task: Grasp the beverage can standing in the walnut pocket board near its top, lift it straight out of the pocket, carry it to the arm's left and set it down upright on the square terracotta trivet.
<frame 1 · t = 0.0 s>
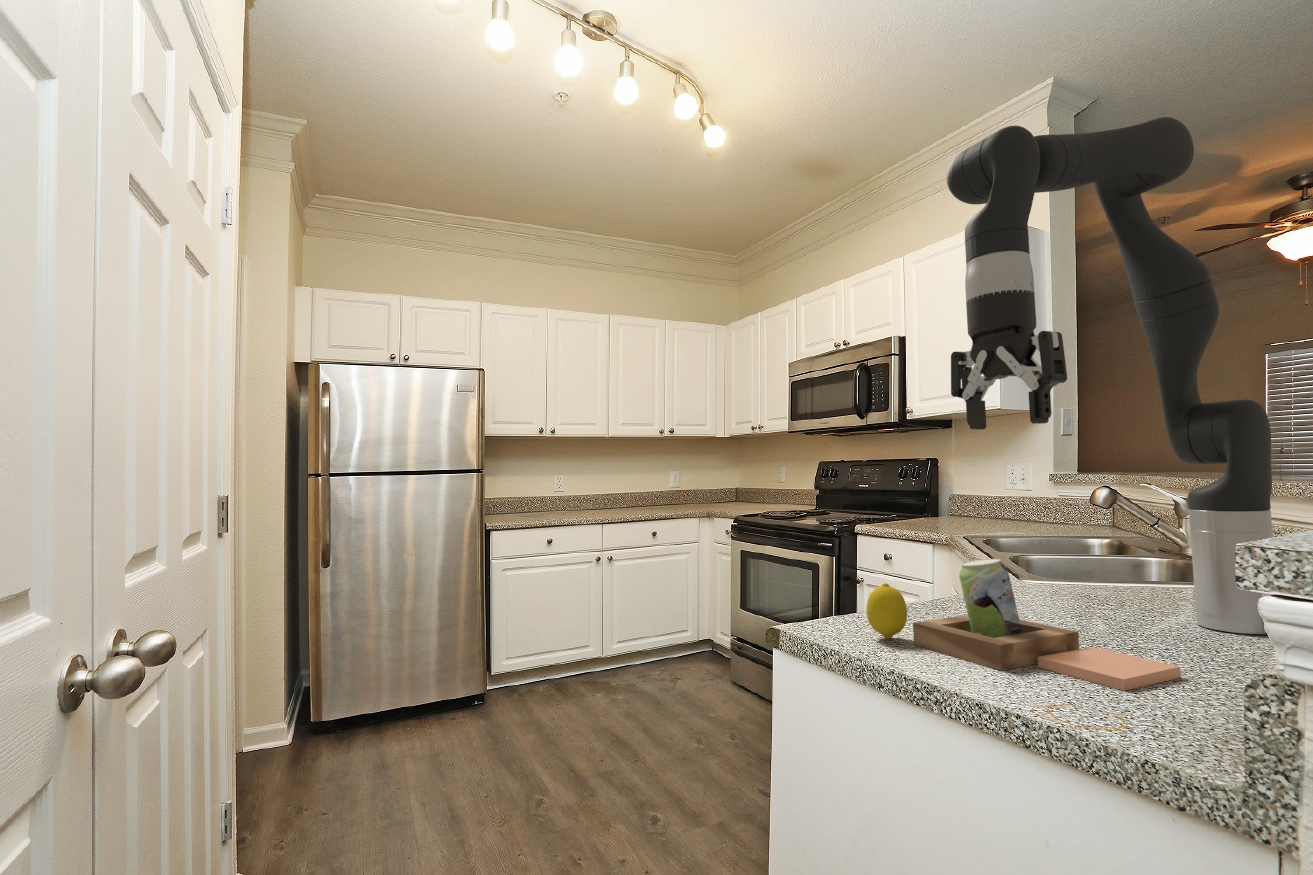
hand: (1007, 426, 80), 29 cm above the counter, fingers open, 8 cm apart
beverage can: (993, 651, 88), resting in pocket board
pocket board: (993, 649, 88), on the counter
trivet: (1107, 672, 77), on the counter
lemon: (888, 640, 95), on the counter
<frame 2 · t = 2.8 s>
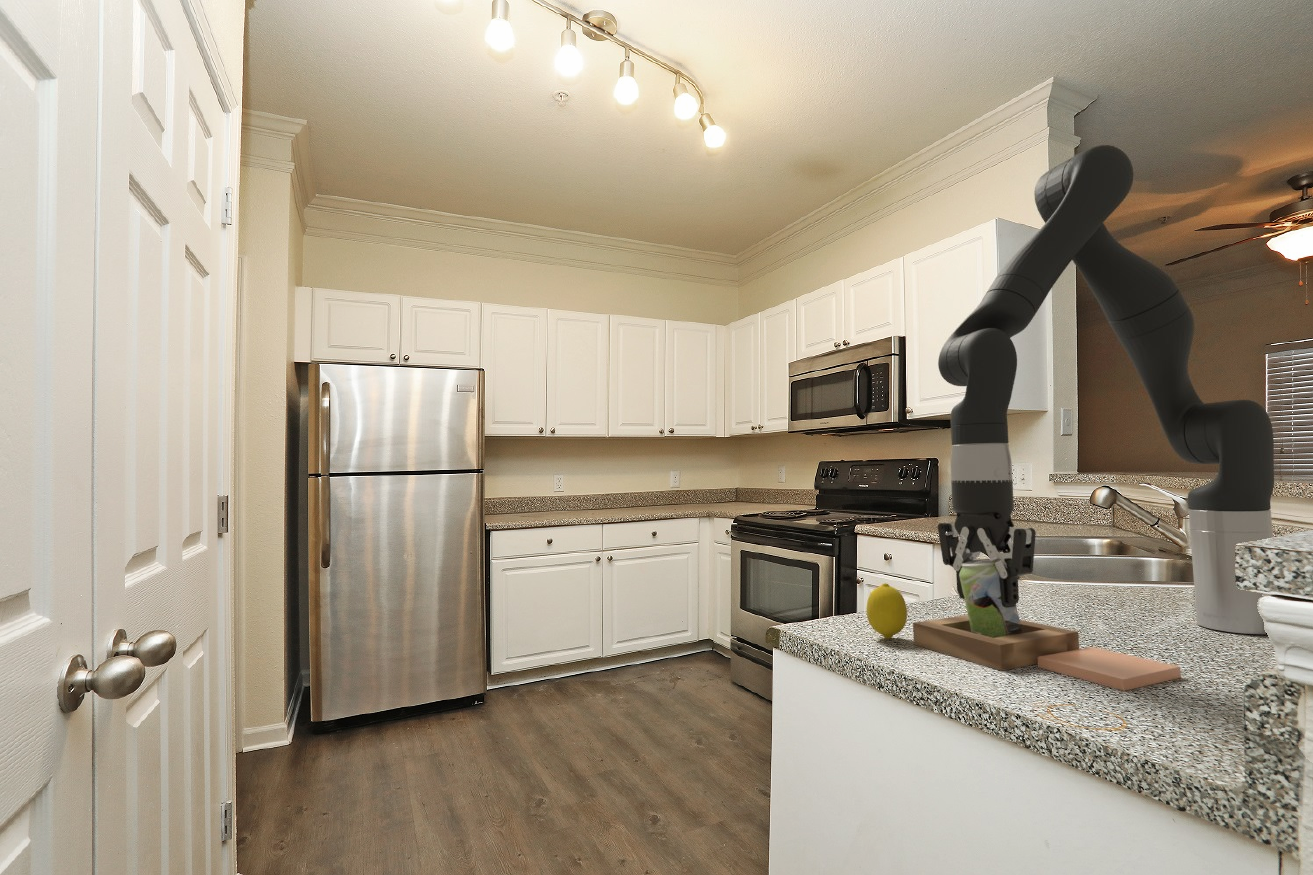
hand: (986, 601, 89), 6 cm above the counter, fingers closed on beverage can, 6 cm apart
beverage can: (993, 651, 88), resting in pocket board, touching gripper
everything else where it was.
when the fingers open (8 cm above the counter, at t = 7.8 s): beverage can stays where it is, resting on trivet.
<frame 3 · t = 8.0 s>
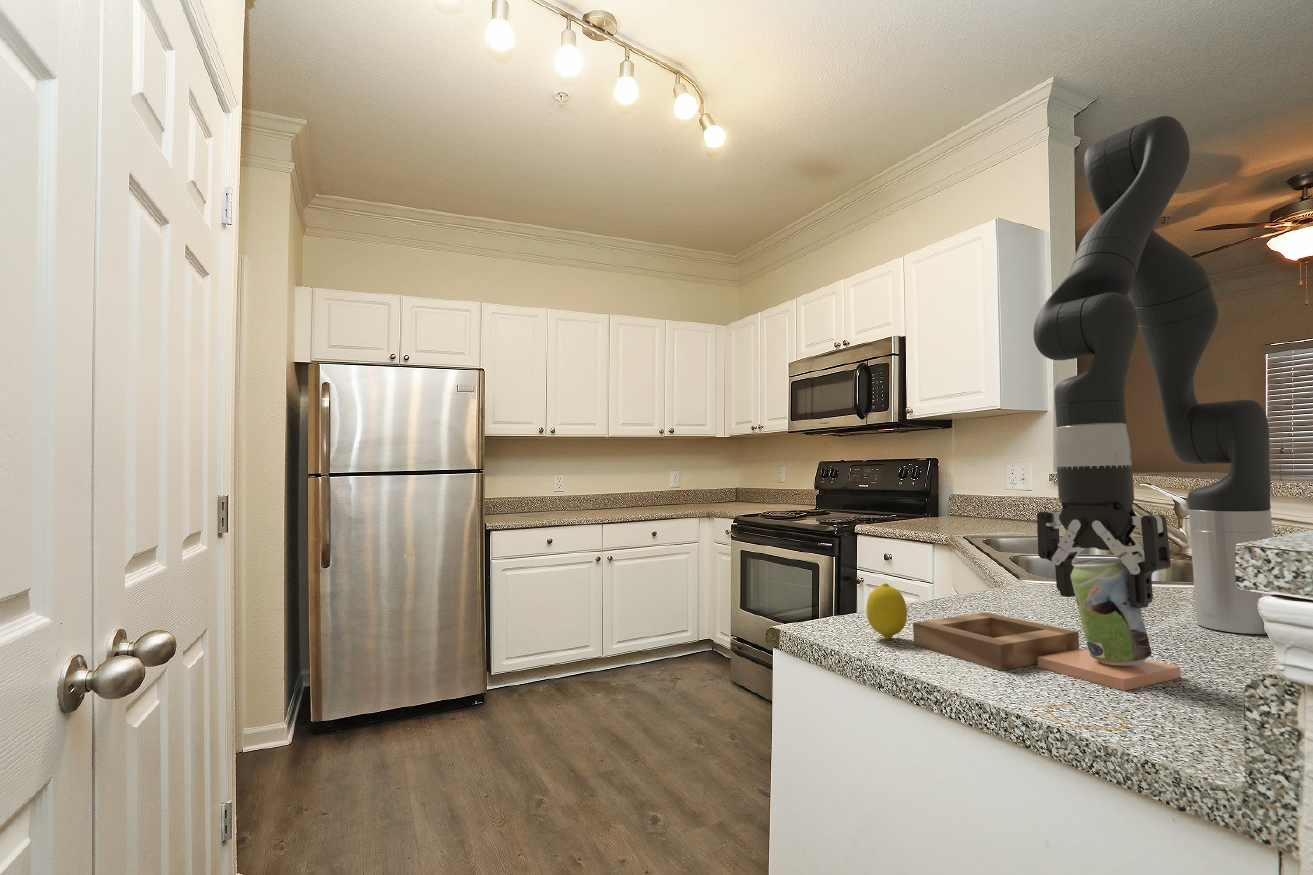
hand: (1102, 601, 78), 8 cm above the counter, fingers open, 8 cm apart
beverage can: (1113, 664, 77), point 1 cm above the counter, touching trivet
everything else where it was.
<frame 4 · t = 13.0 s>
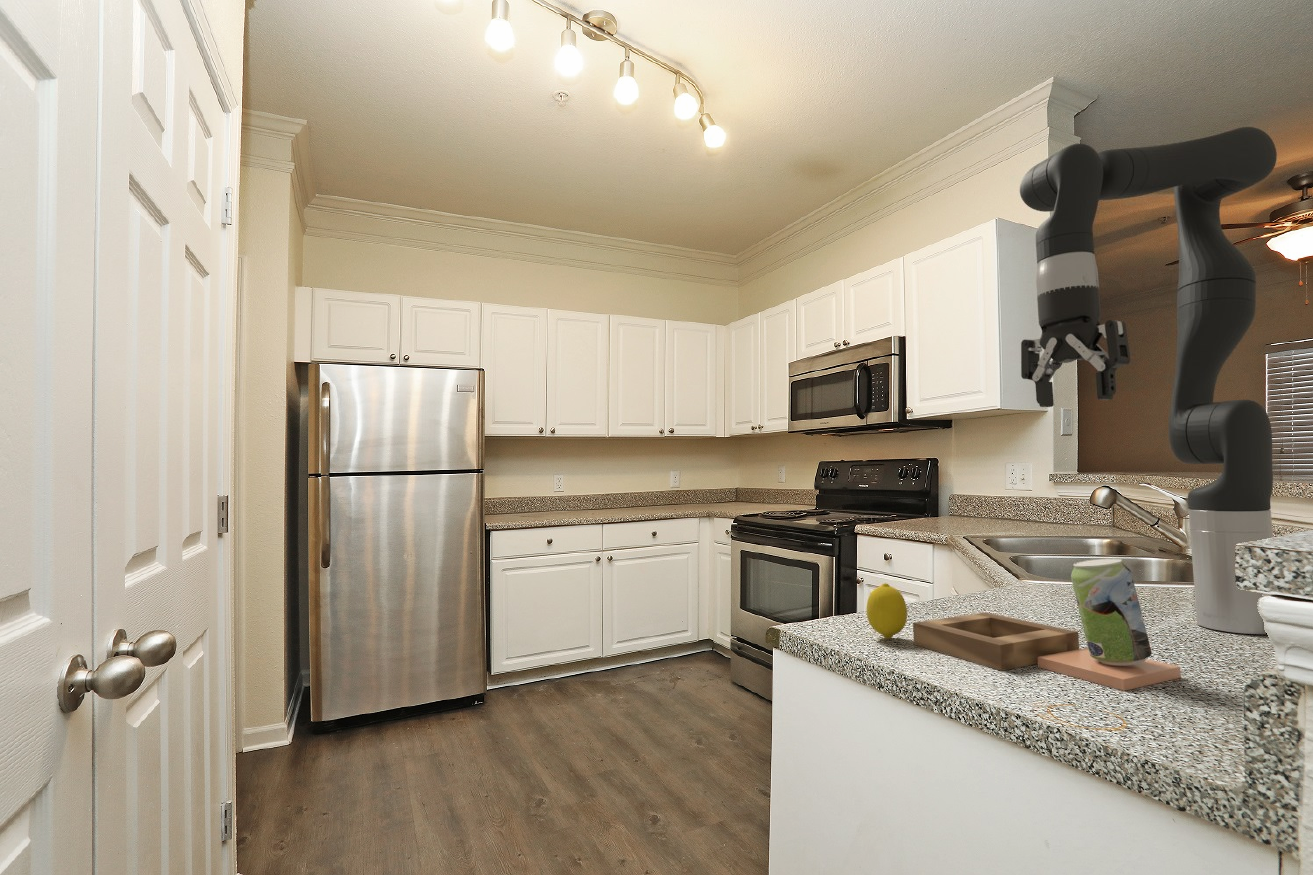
hand: (1074, 403, 93), 33 cm above the counter, fingers open, 8 cm apart
nothing on the counter moved.
at the end: beverage can inside the target area on the trivet (0.7 cm from its centre), point 1.0 cm above the trivet's base; beverage can tilted 0°; the gripper is holding nothing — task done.
